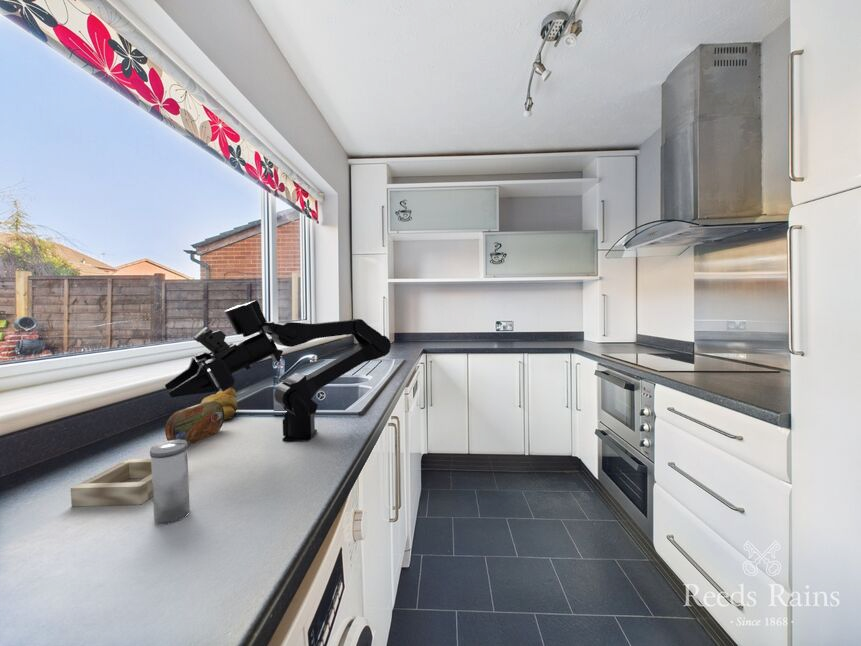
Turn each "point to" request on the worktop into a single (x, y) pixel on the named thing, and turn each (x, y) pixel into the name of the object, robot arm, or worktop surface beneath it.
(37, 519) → the worktop surface
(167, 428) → the tin
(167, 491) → the silver metal canister
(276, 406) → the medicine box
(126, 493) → the collar
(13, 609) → the worktop surface
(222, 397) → the bread roll
